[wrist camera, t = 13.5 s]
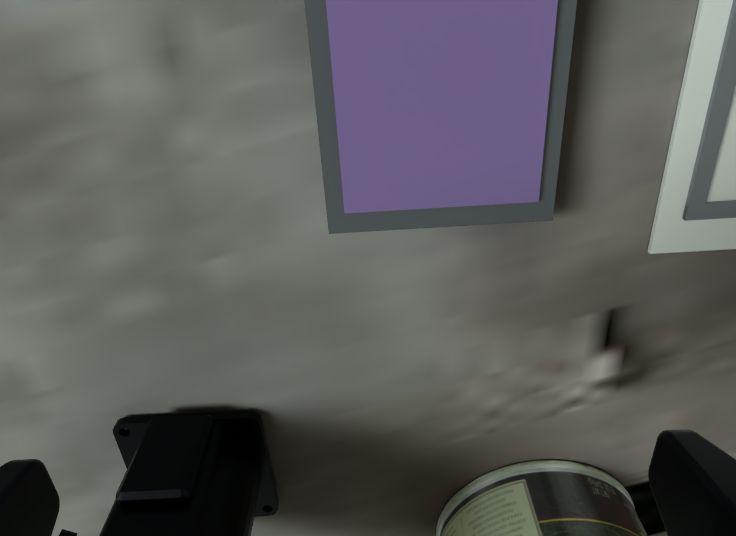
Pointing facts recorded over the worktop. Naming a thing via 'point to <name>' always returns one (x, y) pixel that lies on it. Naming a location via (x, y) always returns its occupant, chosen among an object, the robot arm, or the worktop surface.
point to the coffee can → (541, 503)
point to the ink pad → (439, 109)
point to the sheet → (702, 143)
